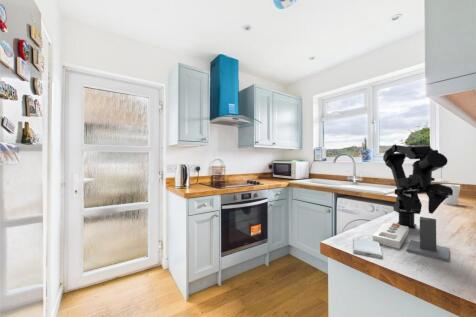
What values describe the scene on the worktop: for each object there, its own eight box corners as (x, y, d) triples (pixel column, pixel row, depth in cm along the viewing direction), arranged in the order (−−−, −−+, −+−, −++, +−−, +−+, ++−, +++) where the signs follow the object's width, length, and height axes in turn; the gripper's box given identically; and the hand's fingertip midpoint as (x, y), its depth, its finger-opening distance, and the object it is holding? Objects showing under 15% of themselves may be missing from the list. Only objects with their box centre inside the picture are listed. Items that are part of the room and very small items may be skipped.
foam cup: (462, 206, 131) (462, 186, 131) (443, 204, 136) (443, 185, 136) (457, 203, 139) (456, 184, 139) (438, 201, 144) (438, 183, 144)
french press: (437, 200, 150) (437, 166, 150) (428, 197, 161) (428, 166, 161) (454, 201, 147) (454, 166, 147) (444, 198, 158) (443, 166, 158)
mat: (411, 241, 76) (411, 239, 76) (449, 250, 69) (449, 248, 69) (406, 251, 69) (406, 248, 69) (449, 261, 61) (449, 259, 61)
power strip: (385, 227, 91) (385, 221, 91) (408, 232, 85) (408, 225, 86) (372, 241, 76) (372, 233, 76) (399, 248, 70) (399, 239, 70)
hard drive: (353, 237, 79) (353, 249, 68) (378, 241, 74) (383, 254, 64) (353, 241, 79) (353, 254, 68) (378, 245, 74) (383, 260, 64)
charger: (420, 244, 72) (420, 216, 72) (436, 248, 69) (436, 219, 69) (419, 248, 69) (419, 219, 69) (436, 252, 66) (436, 221, 66)
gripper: (384, 172, 90) (380, 206, 86) (424, 163, 72) (421, 206, 68) (408, 180, 90) (405, 214, 86) (455, 173, 72) (453, 216, 68)
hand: (418, 212), depth 77 cm, fingers open, 9 cm apart
